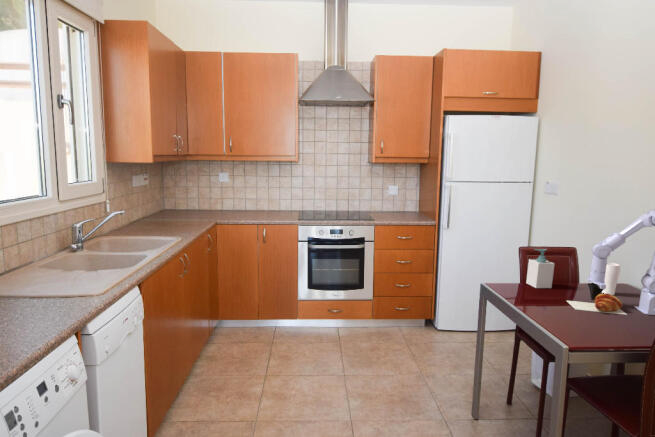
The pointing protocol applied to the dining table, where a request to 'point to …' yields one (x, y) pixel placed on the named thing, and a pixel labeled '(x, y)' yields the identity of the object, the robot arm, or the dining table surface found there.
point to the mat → (591, 307)
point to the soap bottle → (540, 271)
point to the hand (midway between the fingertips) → (594, 300)
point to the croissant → (607, 302)
